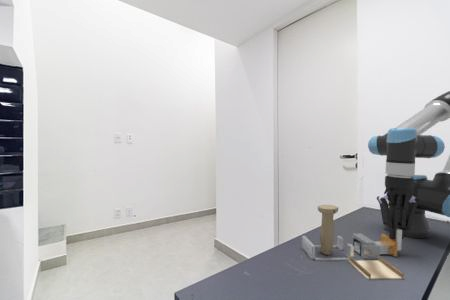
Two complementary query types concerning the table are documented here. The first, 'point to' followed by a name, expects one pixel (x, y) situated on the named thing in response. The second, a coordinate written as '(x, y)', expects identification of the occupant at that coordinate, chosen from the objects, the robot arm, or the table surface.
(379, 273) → the tan base plate
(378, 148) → the robot arm
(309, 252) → the silver rectangular frame
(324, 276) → the table surface
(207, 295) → the table surface
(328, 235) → the handle
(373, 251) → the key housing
